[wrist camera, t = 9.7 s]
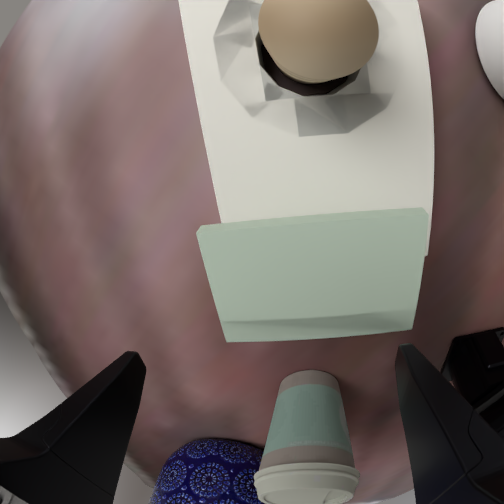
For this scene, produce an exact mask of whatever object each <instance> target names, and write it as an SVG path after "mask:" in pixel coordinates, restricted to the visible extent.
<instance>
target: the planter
mask: <svg viewBox="0 0 504 504" xmlns="http://www.w3.org/2000/svg"><path fill="white" fill-rule="evenodd" d="M263 452H264V451H262V450H260V449H258V448H256V447H254V446H251V445H248V444H245V443H242V442H237V441H232V440H226V439H199V440H195V441H192V442H189V443H187V444H185V445H183V446H182V447H180V448H179V449H177V450H176V451H175V452H174V453H173V454H172V455H171V456H170V457H169V458H168V459H167V461H166V462H165V464H164V466H163V467H162V470H161V472H160V474H159V477H158V479H157V481H156V484H155V486H154V489H153V492H152V494H151V497H150V500H149V503H148V504H265V503H263V502H261V501H260V500H259V499H258V495H257V489H256V487H255V486H254V482H255V480H254V474H255V473H256V472H258V471H259V468H260V464H261V460H262V456H263Z"/></svg>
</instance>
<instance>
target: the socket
mask: <svg viewBox="0 0 504 504" xmlns="http://www.w3.org/2000/svg"><path fill="white" fill-rule="evenodd" d="M263 1H264V0H179V6H180V12H181V18H182V24H183V30H184V35H185V41H186V46H187V52H188V58H189V63H190V69H191V74H192V79H193V85H194V90H195V95H196V100H197V106H198V111H199V116H200V121H201V126H202V131H203V136H204V141H205V146H206V151H207V156H208V161H209V166H210V171H211V176H212V180H213V185H214V190H215V195H216V200H217V204H218V209H219V214H220V218H221V223H231V222H241V221H251V220H261V219H272V218H283V217H294V216H306V215H318V214H330V213H344V212H357V211H372V210H387V209H403V208H420V207H422V208H423V209H424V210H425V211H426V212H427V213H428V214H429V218H428V230H427V240H426V249H425V256H428V248H429V239H430V229H431V218H432V205H433V187H434V122H433V104H432V91H431V80H430V71H429V63H428V56H427V49H426V43H425V37H424V31H423V26H422V20H421V16H420V11H419V6H418V2H417V0H367V1H368V2H369V4H370V5H371V7H372V9H373V10H374V13H375V15H376V18H377V22H378V27H379V38H378V44H377V47H376V49H375V52H374V53H373V55H372V57H371V58H370V60H369V61H368V62H367V63H366V64H365V65H364V66H363V67H362V68H360V69H359V70H357V71H356V72H354V73H352V74H350V75H348V78H347V80H346V82H344V83H343V84H341V85H340V86H338V87H337V88H335V89H334V90H332V91H331V92H329V93H328V94H321V95H308V96H302V95H299V94H297V93H294V92H292V91H289V90H287V89H284V88H282V87H280V86H279V85H278V84H277V82H276V81H275V80H274V79H273V78H272V77H271V75H270V74H269V73H268V72H267V71H266V70H265V67H264V61H263V55H262V50H261V46H262V44H263V42H262V39H261V37H260V33H259V27H258V17H259V12H260V8H261V6H262V3H263Z"/></svg>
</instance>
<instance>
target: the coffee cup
mask: <svg viewBox="0 0 504 504" xmlns="http://www.w3.org/2000/svg"><path fill="white" fill-rule="evenodd" d="M359 477H360V473H359V471H358V470H356V469H355V465H354V459H353V453H352V448H351V442H350V437H349V432H348V427H347V422H346V417H345V412H344V407H343V402H342V398H341V393H340V389H339V384H338V381H337V380H336V378H335V377H334V376H332V375H330V374H329V373H326V372H323V371H317V370H305V371H299V372H296V373H293V374H291V375H289V376H287V377H286V378H285V379H284V380H283V381H282V382H281V384H280V388H279V392H278V396H277V400H276V404H275V409H274V413H273V417H272V421H271V425H270V429H269V433H268V437H267V441H266V445H265V449H264V452H263V456H262V460H261V464H260V468H259V471H258V472H256V473H255V474H254V480H255V482H254V486H255V487H256V489H257V495H258V499H259V500H260V501H261V502H263V503H265V504H342V503H345V502H347V501H349V500H351V499H352V498H353V495H354V492H355V488H356V486H357V485H358V483H359V479H358V478H359Z"/></svg>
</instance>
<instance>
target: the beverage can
mask: <svg viewBox="0 0 504 504" xmlns="http://www.w3.org/2000/svg"><path fill="white" fill-rule="evenodd" d="M475 37H476V46H477V51H478V55H479V58H480V61H481V64H482V66H483V69H484V71H485V73H486V75H487V77H488V79H489V81H490V82H491V84H492V86H493V87H494V88H495V90H496V91H497V92H498V94H499V95H500V96H501V97H502V98H503V99H504V0H495V1H492V2H489V3H488V4H486V5H485V6H484V7H483V8H482V9H481V11H480V13H479V15H478V18H477V21H476V29H475Z"/></svg>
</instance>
